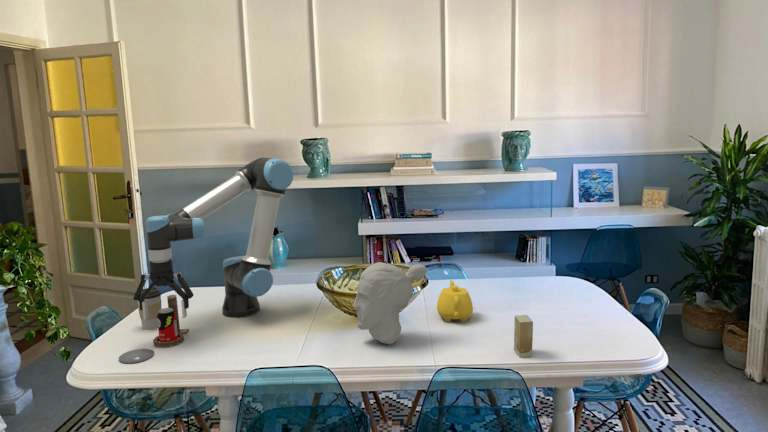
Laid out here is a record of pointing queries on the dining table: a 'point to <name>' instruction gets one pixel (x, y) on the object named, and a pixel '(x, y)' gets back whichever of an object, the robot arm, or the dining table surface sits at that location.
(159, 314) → the beverage can
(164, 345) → the ring holder
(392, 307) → the bust
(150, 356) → the slate coaster
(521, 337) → the skincare box
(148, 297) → the coffee cup
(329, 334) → the dining table surface
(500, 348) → the dining table surface
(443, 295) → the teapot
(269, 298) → the dining table surface
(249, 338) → the dining table surface
